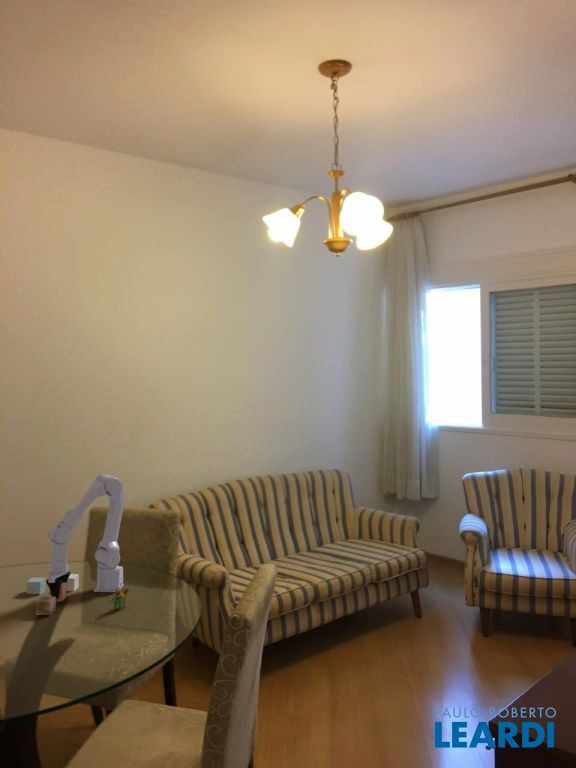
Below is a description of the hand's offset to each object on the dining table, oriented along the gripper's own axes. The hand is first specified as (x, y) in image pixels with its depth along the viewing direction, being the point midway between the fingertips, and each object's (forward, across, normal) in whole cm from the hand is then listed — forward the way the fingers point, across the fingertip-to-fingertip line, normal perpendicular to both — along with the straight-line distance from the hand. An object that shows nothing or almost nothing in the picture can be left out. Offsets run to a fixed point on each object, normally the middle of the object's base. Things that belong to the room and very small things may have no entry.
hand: (58, 595), depth 235 cm
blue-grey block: (+2, -7, -11) cm, 13 cm away
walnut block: (+2, +12, 0) cm, 12 cm away
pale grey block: (+2, -12, 0) cm, 12 cm away
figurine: (+2, +7, +24) cm, 25 cm away
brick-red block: (+2, 0, 0) cm, 2 cm away
